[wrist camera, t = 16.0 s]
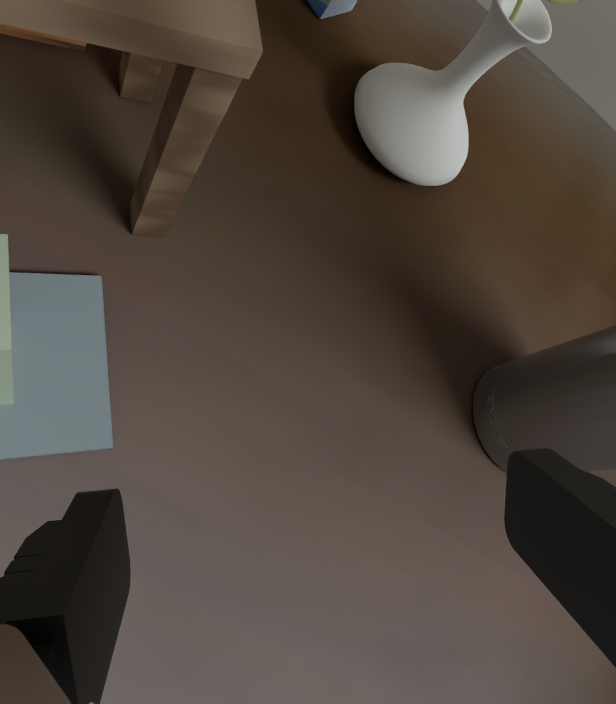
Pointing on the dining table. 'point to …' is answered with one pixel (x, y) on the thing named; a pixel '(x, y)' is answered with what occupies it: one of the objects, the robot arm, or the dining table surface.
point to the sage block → (5, 327)
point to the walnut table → (144, 70)
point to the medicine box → (331, 7)
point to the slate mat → (57, 367)
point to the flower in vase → (439, 97)
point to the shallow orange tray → (42, 37)
